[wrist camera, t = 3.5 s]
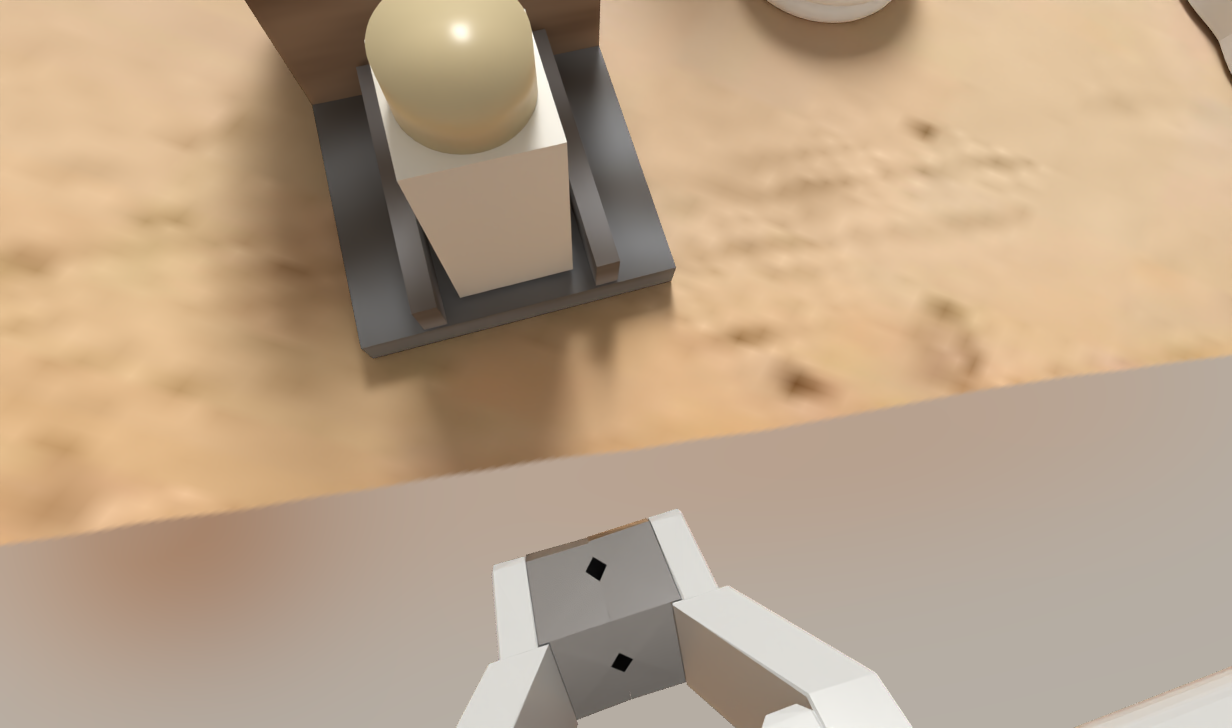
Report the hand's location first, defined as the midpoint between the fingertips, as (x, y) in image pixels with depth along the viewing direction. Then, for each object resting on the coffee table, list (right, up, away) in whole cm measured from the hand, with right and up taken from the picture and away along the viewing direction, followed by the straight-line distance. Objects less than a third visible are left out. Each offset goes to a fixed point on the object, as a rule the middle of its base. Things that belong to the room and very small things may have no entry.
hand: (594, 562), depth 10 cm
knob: (-5, +9, +17) cm, 20 cm away
